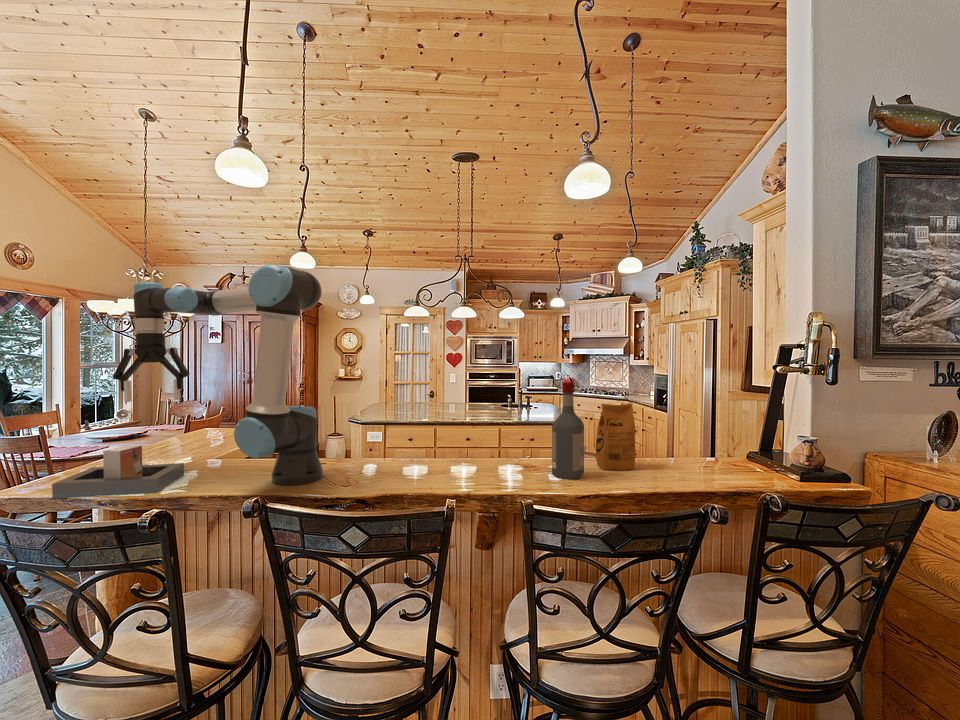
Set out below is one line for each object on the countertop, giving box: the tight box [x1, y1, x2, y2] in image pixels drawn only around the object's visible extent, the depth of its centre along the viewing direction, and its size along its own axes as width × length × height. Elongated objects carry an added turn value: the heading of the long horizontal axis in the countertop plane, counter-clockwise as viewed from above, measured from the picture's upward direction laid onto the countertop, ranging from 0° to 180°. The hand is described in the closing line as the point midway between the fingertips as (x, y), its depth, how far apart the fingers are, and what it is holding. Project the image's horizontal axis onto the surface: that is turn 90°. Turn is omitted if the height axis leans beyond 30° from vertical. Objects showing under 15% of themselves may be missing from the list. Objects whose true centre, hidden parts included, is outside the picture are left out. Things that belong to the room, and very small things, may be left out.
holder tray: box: [51, 462, 185, 499], centre depth 141 cm, size 26×18×4 cm
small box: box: [102, 444, 143, 479], centre depth 140 cm, size 8×6×10 cm
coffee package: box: [595, 403, 636, 472], centre depth 160 cm, size 10×12×22 cm
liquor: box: [551, 381, 585, 481], centre depth 150 cm, size 9×9×30 cm
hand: (153, 400), depth 146 cm, fingers open, 13 cm apart
